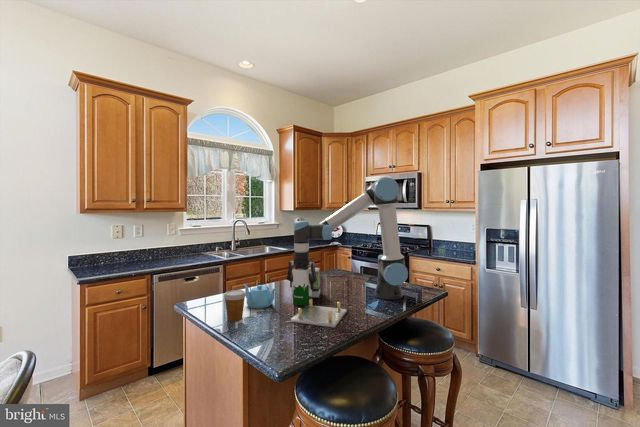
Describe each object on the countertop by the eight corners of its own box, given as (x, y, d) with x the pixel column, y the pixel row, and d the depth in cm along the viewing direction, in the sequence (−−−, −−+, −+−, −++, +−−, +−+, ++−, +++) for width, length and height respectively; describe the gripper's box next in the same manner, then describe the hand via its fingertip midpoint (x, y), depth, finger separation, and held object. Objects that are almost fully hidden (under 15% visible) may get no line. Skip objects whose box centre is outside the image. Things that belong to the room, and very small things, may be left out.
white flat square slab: (346, 311, 151) (346, 300, 151) (334, 327, 132) (334, 315, 132) (307, 307, 157) (307, 296, 157) (290, 321, 138) (290, 310, 138)
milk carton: (313, 301, 166) (313, 263, 166) (306, 306, 158) (305, 267, 157) (298, 299, 170) (297, 262, 169) (290, 304, 161) (290, 265, 160)
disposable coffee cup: (227, 315, 147) (227, 289, 146) (248, 315, 146) (248, 289, 146) (220, 323, 137) (220, 295, 137) (242, 323, 137) (242, 295, 136)
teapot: (271, 299, 170) (270, 280, 169) (277, 308, 156) (277, 287, 156) (243, 303, 164) (243, 283, 164) (247, 312, 150) (247, 290, 150)
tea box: (320, 292, 182) (320, 267, 182) (318, 298, 172) (318, 271, 172) (294, 292, 184) (294, 266, 183) (291, 297, 174) (291, 270, 173)
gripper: (323, 251, 163) (323, 294, 164) (285, 249, 170) (286, 290, 171) (318, 253, 156) (319, 298, 157) (279, 251, 163) (279, 294, 163)
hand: (301, 294), depth 164 cm, fingers closed on milk carton, 9 cm apart
